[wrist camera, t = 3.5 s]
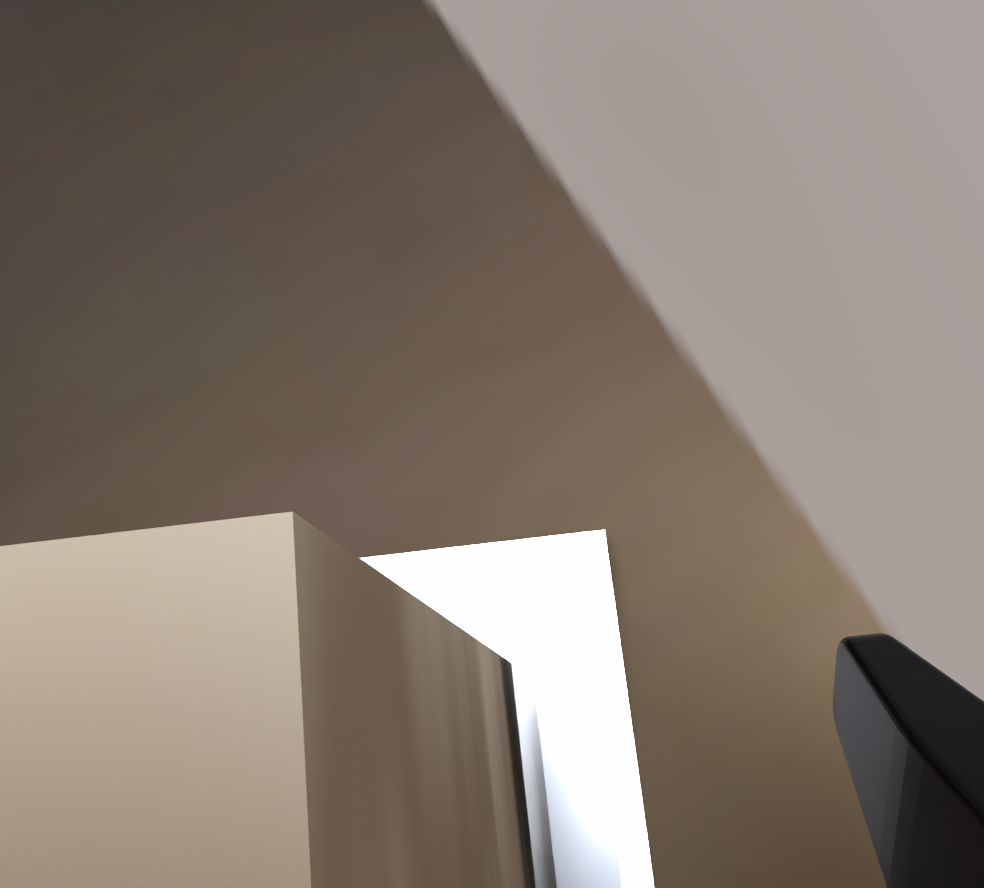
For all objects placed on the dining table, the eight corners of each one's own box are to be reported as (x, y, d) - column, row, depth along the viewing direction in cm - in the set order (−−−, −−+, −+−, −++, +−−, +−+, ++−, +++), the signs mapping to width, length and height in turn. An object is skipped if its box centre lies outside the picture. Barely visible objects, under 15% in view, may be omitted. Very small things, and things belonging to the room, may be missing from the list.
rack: (672, 1045, 15) (711, 1171, 11) (292, 1081, 15) (199, 1215, 11) (602, 539, 17) (614, 492, 13) (271, 577, 17) (186, 542, 13)
